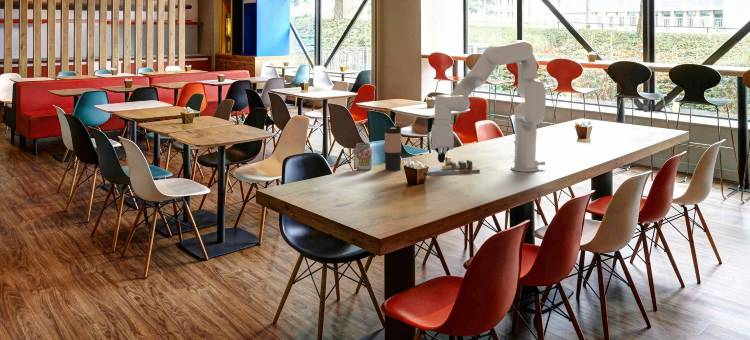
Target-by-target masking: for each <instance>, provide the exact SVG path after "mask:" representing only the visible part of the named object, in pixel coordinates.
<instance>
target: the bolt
mask: <svg viewBox="0 0 750 340" xmlns="http://www.w3.org/2000/svg"><path fill="white" fill-rule="evenodd" d="M451 161H452V160H451V156H445V160H444V163H445V164H441V167H442V169H453V164H451ZM459 168H461V164H458V163H456V169H459ZM466 168H468V164H466Z"/></svg>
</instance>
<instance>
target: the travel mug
mask: <svg viewBox="0 0 750 340" xmlns="http://www.w3.org/2000/svg"><path fill="white" fill-rule="evenodd" d="M401 160H402V128H401V126H396V125H392V126H385V127H384V164H385V165H384V167H385V171H388V172H397V170H398V171H400V170H401V168H402V167H401V164H402V163H401V162H402V161H401Z"/></svg>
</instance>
